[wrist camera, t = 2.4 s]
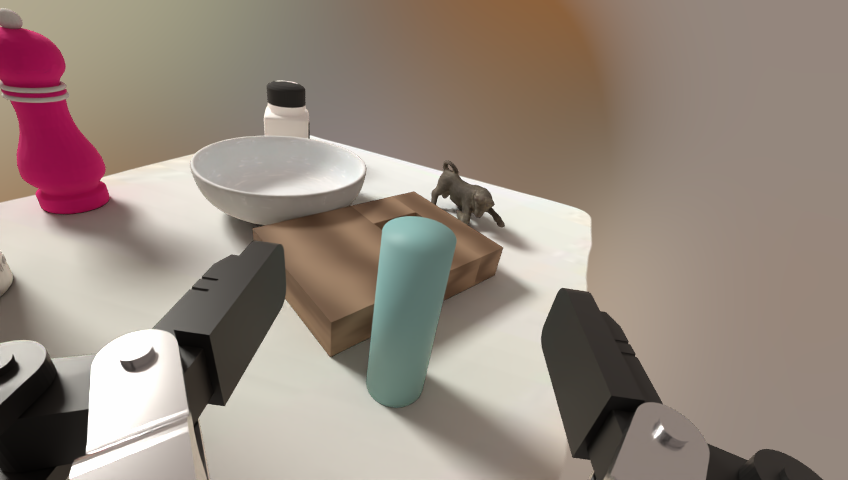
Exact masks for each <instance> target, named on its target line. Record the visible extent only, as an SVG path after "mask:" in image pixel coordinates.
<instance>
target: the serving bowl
mask: <svg viewBox="0 0 848 480" xmlns="http://www.w3.org/2000/svg"><path fill="white" fill-rule="evenodd" d="M190 168H191V171H192V174H193V177H194V180H195V182H196V184H197V186H198V188H199V190H200V191H201V192H202V194H203V195H204V196H205V198H206V199H207V200H208V201H209V202H210V203H212V204H213V205H214V206H215V207H217V208H218V209H219V210H221V211H223V212H224V213H226V214H228V215H230V216H232V217H235V218H237V219H240V220H243V221H246V222H250V223H255V224H261V225H269V224H274V223H278V222H282V221H287V220H291V219H296V218H300V217H304V216H309V215H313V214H318V213H322V212H326V211H331V210H335V209H340V208H344V207H348V206H349V205H350V204H351V203H352V202H353V201H354V200H355V199H356V197H357V196H358V194H359V193H360V190H361V188H362V186H363V183H364V179H365V175H366V165H365V163H364V162H363V160H362V159H361V158H360V157H359V156H357V155H356V154H354V153H353V152H351V151H349V150H347V149H345V148H342V147H340V146H337V145H334V144H330V143H326V142H323V141H318V140H313V139H307V138H300V137H291V136H249V137H240V138H233V139H229V140H223V141H220V142H217V143H214V144H211V145H209V146H206V147H204V148H202V149H201V150H199V151H198V152H197V153H195V154H194V155H193V157H192V159H191V161H190Z"/></svg>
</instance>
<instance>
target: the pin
mask: <svg viewBox="0 0 848 480" xmlns="http://www.w3.org/2000/svg"><path fill="white" fill-rule="evenodd" d="M456 242H457V239H456V236H455V234H454V233H453V231H452V230H451V229H450V228H448V227H447V226H445V225H444V224H442V223H440V222H438V221H435V220H432V219H429V218H424V217H417V216H405V217H399V218H395V219H392V220H390V221H389V222H387V223H386V224H385V225H384V227H383V229H382V237H381V247H380V256H379V266H378V275H377V285H376V294H375V304H374V313H373V323H372V332H371V341H370V351H369V360H368V370H367V379H366V384H367V389H368V391H369V393H370V395H371V396H372V397H373V398H374V399H375V400H376V401H377V402H379V403H380V404H382V405H385V406H388V407H394V408H398V407H404V406H407V405H410V404H412V403H413V402H414V401H416V400H417V399H418V398H419V396H420V395H421V393H422V390H423V386H424V381H425V377H426V373H427V368H428V364H429V360H430V355H431V351H432V347H433V342H434V338H435V334H436V329H437V325H438V321H439V316H440V312H441V308H442V303H443V299H444V295H445V290H446V286H447V282H448V277H449V273H450V269H451V264H452V260H453V256H454V251H455V247H456Z"/></svg>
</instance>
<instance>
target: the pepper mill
mask: <svg viewBox="0 0 848 480" xmlns="http://www.w3.org/2000/svg"><path fill="white" fill-rule="evenodd" d="M0 25H1V26H2V27H0V80H1V81H0V88H1V91H2V96H3V97H4V98H5V99H7V100H10V101H11V103H12V105H13V107H14V109H15V111H16V114H17V118H18V121H19V128H20V136H19V144H18V149H17V166H18V169H19V172H20V175H21V177H22V179H24V180H25V181H26V182H27V183H29V184H30V185H33V186H34V187H36V188H39V189H38V190H37V192H36V197H37V199H38V201H39V204H40V206H41V208H42V209H43V210H45V211H47V212H51V213H56V214H74V213H81V212H86V211H90V210H94V209H96V208H99V207H101V206H103V205H104V204H106V203H107V202H108V201H109V198H110V197H109V193H108V190H107V187H106V185H105V183H103V182H101V181H100V180H101V178H102V177H103V175H104V174H105V164H104V162H103V159H102V157H101V156H100V154H99V153H98V151H97V150H96V148H95V147H94V146H93V145H92V144H91V143H90V142H89V141H88V140H87V139H86V138H85V137H84V135H83V134H82V133H81V132H80V131H79V129H78V128H77V126H76V125H75V123H74V121H73V119H72V117H71V115H70V113H69V110H68V107H67V103H66V99H67V98H68V97H69V93H68V92H67V90H66V89H65V88H66V84H65V83H63V82H61V81H60V78H61V76H62V75H63V73H64V71H65V61H64V58H63V56H62V54H61V52H60V50H59V49H58V48H57V47H56V45H55V44H54V43H53V42H51V41H50V40H49V39H48V38H46V37H44V36H43V35H41V34H39V33H36V32H33V31H30V30H27V29H23V28H21V27H22V19H21V18H20V16H19V15H18V14H17V13H15V12H14V11H12V10H10V9H5V8H0Z"/></svg>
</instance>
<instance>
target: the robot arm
mask: <svg viewBox="0 0 848 480" xmlns="http://www.w3.org/2000/svg"><path fill="white" fill-rule="evenodd" d="M12 281H13V275H12V272H11V270H10V268H9V266H8V264H7V262H6V259H5V257H4V255H3V253H2V252H1V250H0V296H1V295H3V294H4V293H5V292H6V291H7V290H8V288H9V287H10V285H11V284H12ZM285 296H286V272H285V255H284V248H283V245H282V244H276V243H270V242H263V241H257V240H254V241H252V242H251V243H250V244H249V245H248V246H247V247H246V249H245V250H244V251H243V252H242V253H241V254H240V255H239V256H237V255H230V256H228V257H226V258H224V259H223V260H221V261H219V262H217V263H215V264H214V265H213V266H212V267H211V268H210V269H209V270H208V271H207V272H206V273H205V274H204V275H203V276H202V279H199V280H198V281H197V282H196V283H195V284H194V285H193V287H192V290H189V291H188V292H187V293H186V294H185V295H184V296H183V297H182V298H181V299H180V300H179V301H178V302H177V303H176V304H175V305H174V306H173V307H172V308H171V309H170V311H169V312H168V313H167V314H166V315H165V316H164V317H163V318H162V319H161V320H160V321H159V322H158V323H157V324H156V325H155V326H154V327H153V328H152V329H151V330H142V331H137V332H134V333H130V334H127V335H125V336H122V337H120V338H118V339H116V340H115V341H113V342H111V343H110V344H108V345H107V346H106V347H105V348H103V349H102V350H101V351H100V352H99V353H98V354H90V355H80V356H71V357H61V358H50V356H49V354H48V353H47V351H46V349H45V347H44V346H43V345H42V344H40V343H38V342H35V341H30V340H15V341H8V342H3V343H0V480H66V479H67V477H68V476H69V475H70V479H69V480H210V476H209V470H208V465H207V459H206V454H205V448H204V443H203V437H202V431H201V426H200V421H199V416H200V415H201V413H202V412H203V410H204V408H205V407H206V405H207V404H213V405H220V406H225V405H226V403H227V401H228V399H229V398H230V396H231V394H232V393H233V391H234V389H235V387H236V386H237V384H238V382H239V380H240V379H241V377H242V375H243V374H244V372H245V370H246V368H247V367H248V365H249V363H250V362H251V360H252V358H253V356H254V355H255V353H256V351H257V349H258V348H259V346H260V344H261V343H262V341H263V339H264V337H265V336H266V334H267V332H268V330H269V329H270V327H271V325H272V324H273V322H274V320H275V318H276V317H277V315H278V313H279V312H280V310H281V308H282V306H283V303H284V300H285ZM541 344H542V350H543V353H544V357H545V360H546V364H547V368H548V371H549V375H550V378H551V382H552V386H553V389H554V393H555V396H556V400H557V404H558V407H559V411H560V414H561V418H562V421H563V425H564V429H565V432H566V436H567V439H568V443H569V446H570V450H571V454H572V457H573V458H580V459H588V460H591V463H592V467H593V472H592V473H591V475H590V476H589V478H588V480H823V479H822V478H820V477H819V476H818V475H817V474H816V473H815V472H813V471H812V470H811V469H810V468H808V467H807V466H806V465H804V464H803V463H801V462H800V461H798V460H796V459H794V458H793V457H791V456H788V455H787V454H784V453H782V452H779V451H775V450H770V449H763V450H760V451H758V452H757V453H756V454H755V455H754V456H752V457H751V458H750V459H749V460H745V459H743V458H741V457H738V456H736V455H733V454H731V453H729V452H726V451H724V450H722V449H719V448H717V447H714V446H712V445H710V444H708V443H707V442H706V440H705V438H704V437H703V435H702V434H701V432H700V431H699V430H698V428H697V427H696V426H695V425H694V424H693V423H692V422H691V421H690V420H689V419H687V418H686V417H685V416H684V415H682V414H681V413H679V412H678V411H676V410H674V409H672V408H670V407H668V406H666V405H663V404H662V401H661V400H660V398H659V396H658V394H657V393H656V390H655V389H654V387H653V385H652V383H651V381H650V380H649V378H648V376H647V374H646V372H645V371H644V369H643V367H642V365H641V363H640V361H639V360H638V358H637V357H635V352H634V351H633V349H632V347H631V345H630V344H628V340H627V338H626V336H625V334H624V332H623V330H622V329H621V327H620V326H619V325H618V324H617V323H616V322H615V321H614V320H613V319H612V318H611V317H610V316H609V315H608V314H607V313H606V312H601V311H600V310H599V308H598V307H597V304H596V302H595V301H594V298H593V297H592V295H591V293H589V292H586V291H579V290H573V289H566V288H561V289H560V290H559V291H558V293H557V295H556V298H555V300H554V302H553V305H552V307H551V309H550V312H549V314H548V317H547V319H546V321H545V324H544V326H543V330H542V336H541Z"/></svg>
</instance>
